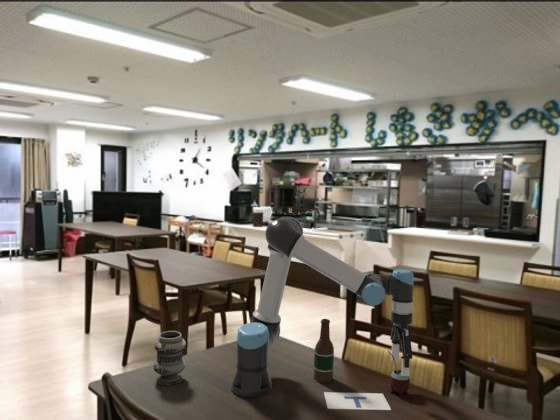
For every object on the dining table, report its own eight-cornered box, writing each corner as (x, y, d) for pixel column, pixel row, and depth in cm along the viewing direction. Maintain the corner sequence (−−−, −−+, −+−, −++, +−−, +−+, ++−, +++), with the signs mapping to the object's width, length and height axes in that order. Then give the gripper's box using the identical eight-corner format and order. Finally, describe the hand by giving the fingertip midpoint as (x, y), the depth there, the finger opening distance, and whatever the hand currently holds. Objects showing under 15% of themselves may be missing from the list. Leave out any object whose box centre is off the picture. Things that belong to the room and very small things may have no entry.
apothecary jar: (161, 389, 167) (162, 341, 166) (148, 378, 176) (148, 332, 175) (190, 381, 175) (191, 335, 174) (176, 370, 184) (177, 327, 183)
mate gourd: (411, 398, 167) (413, 358, 166) (389, 397, 167) (391, 357, 166) (405, 388, 174) (407, 350, 173) (385, 388, 174) (387, 349, 173)
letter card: (327, 409, 157) (327, 408, 157) (323, 392, 169) (323, 392, 169) (391, 410, 157) (391, 409, 157) (382, 394, 169) (382, 393, 169)
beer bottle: (320, 373, 186) (322, 315, 184) (336, 378, 181) (339, 319, 180) (309, 379, 180) (311, 319, 178) (325, 385, 175) (328, 324, 173)
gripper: (423, 322, 156) (421, 382, 157) (402, 303, 181) (400, 355, 182) (401, 322, 156) (399, 382, 157) (383, 302, 181) (381, 354, 182)
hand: (400, 367), depth 170 cm, fingers open, 13 cm apart
